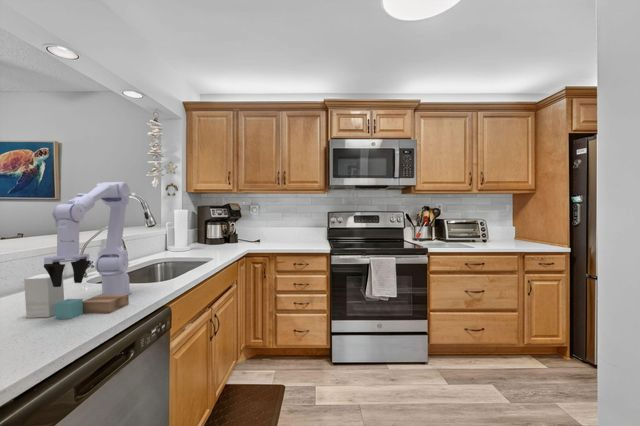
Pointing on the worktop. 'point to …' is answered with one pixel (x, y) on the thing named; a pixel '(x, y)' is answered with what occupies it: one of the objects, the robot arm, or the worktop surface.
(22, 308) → the worktop surface
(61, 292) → the supplement box
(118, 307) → the walnut block
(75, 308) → the teal cube
